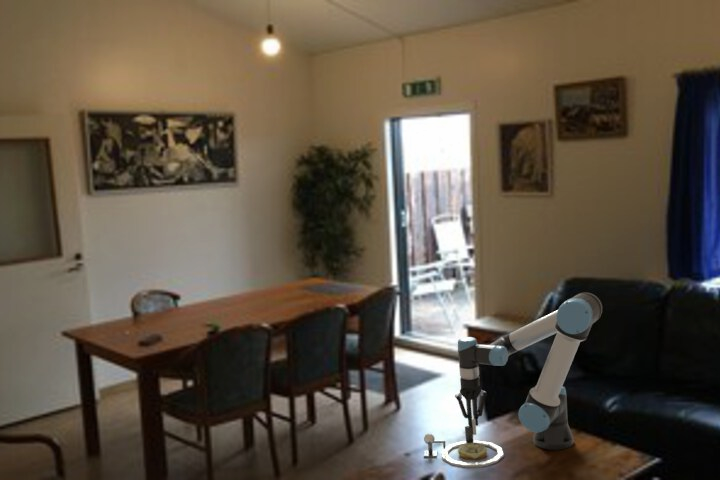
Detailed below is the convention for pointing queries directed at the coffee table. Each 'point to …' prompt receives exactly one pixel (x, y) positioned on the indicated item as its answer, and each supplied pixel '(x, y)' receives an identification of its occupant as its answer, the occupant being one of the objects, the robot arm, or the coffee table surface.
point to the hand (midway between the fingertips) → (473, 433)
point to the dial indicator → (430, 440)
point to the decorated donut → (472, 451)
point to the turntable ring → (470, 440)
